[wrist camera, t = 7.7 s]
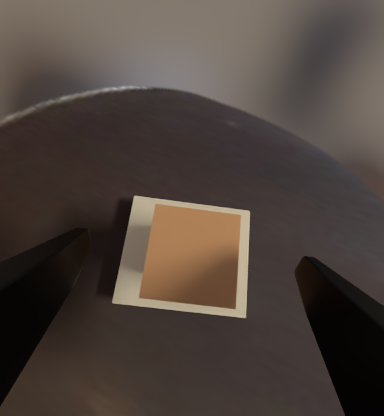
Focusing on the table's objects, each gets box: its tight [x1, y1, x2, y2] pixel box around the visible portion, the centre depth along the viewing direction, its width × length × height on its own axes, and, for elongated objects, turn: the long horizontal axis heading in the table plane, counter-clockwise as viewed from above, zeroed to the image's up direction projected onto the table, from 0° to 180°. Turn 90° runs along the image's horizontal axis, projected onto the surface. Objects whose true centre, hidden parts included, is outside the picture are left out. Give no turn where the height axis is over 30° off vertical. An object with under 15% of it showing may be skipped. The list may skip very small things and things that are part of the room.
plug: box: [139, 204, 241, 309], centre depth 14 cm, size 5×5×10 cm
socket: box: [112, 196, 250, 318], centre depth 18 cm, size 10×12×2 cm
